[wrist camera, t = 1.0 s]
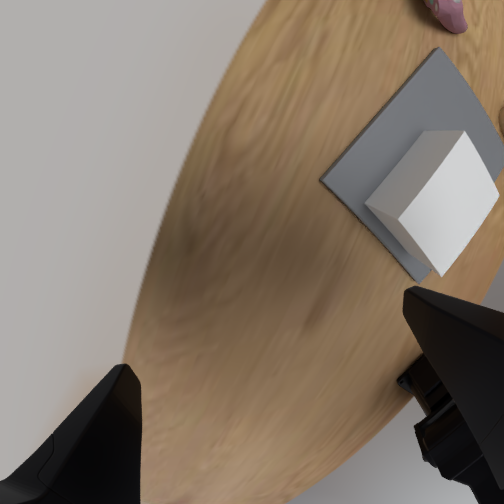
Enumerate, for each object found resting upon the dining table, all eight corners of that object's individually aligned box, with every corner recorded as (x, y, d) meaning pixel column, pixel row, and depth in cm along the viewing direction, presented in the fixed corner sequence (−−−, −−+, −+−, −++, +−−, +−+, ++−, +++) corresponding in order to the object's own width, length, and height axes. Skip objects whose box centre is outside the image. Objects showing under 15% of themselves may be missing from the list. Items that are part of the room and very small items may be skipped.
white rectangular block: (460, 184, 19) (499, 195, 15) (407, 252, 21) (441, 277, 17) (423, 130, 18) (464, 130, 13) (364, 203, 20) (397, 219, 15)
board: (503, 155, 19) (509, 156, 18) (414, 280, 23) (419, 284, 22) (434, 48, 16) (439, 46, 15) (319, 179, 20) (322, 180, 19)
